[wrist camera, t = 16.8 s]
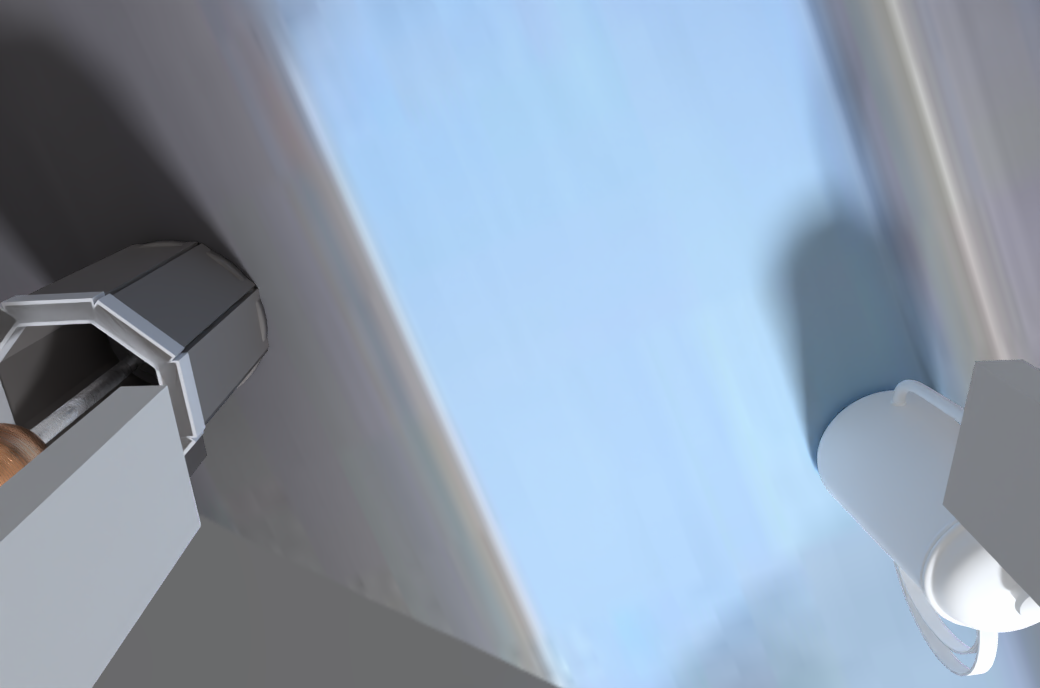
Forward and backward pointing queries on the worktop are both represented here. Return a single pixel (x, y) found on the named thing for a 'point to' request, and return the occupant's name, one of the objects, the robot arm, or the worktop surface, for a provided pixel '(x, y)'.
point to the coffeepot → (921, 518)
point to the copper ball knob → (66, 413)
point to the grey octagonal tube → (135, 335)
